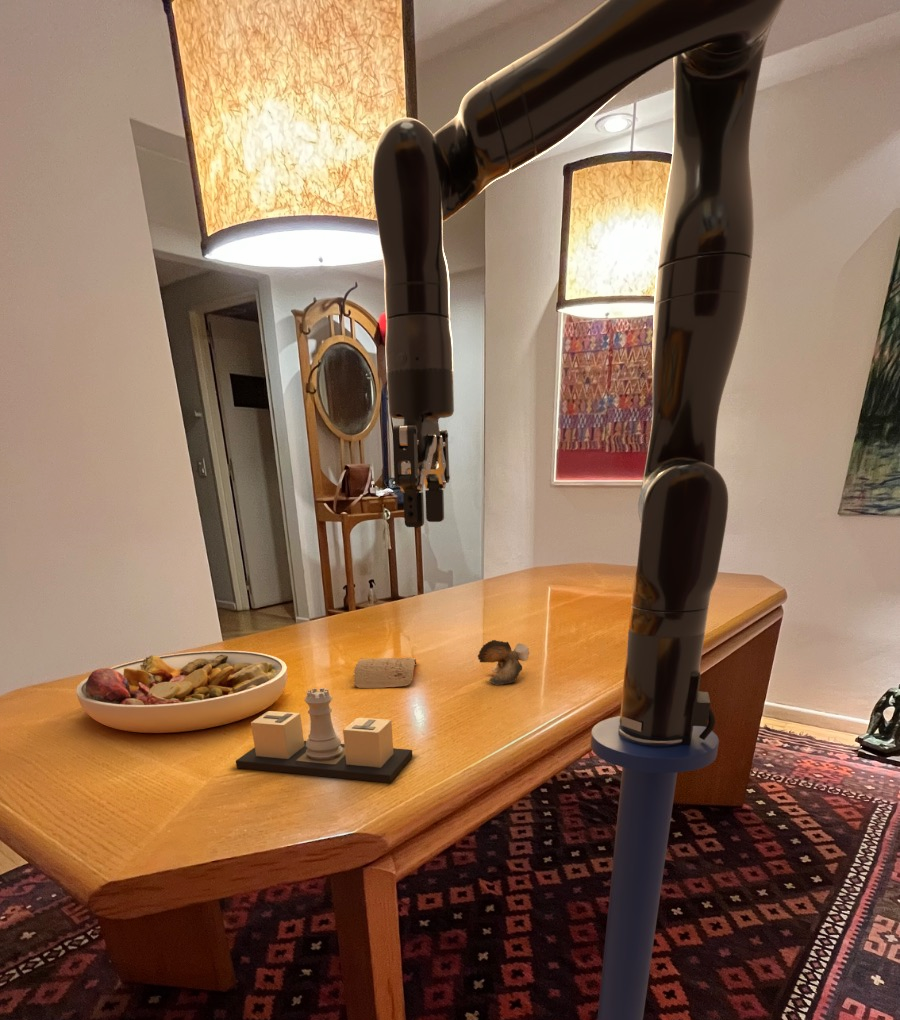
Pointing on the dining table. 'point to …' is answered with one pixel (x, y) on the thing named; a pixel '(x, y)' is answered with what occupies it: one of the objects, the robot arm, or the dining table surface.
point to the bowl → (183, 690)
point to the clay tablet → (384, 672)
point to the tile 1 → (277, 734)
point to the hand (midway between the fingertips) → (425, 524)
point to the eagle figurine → (504, 660)
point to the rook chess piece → (321, 727)
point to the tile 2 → (368, 742)
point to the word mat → (327, 765)
